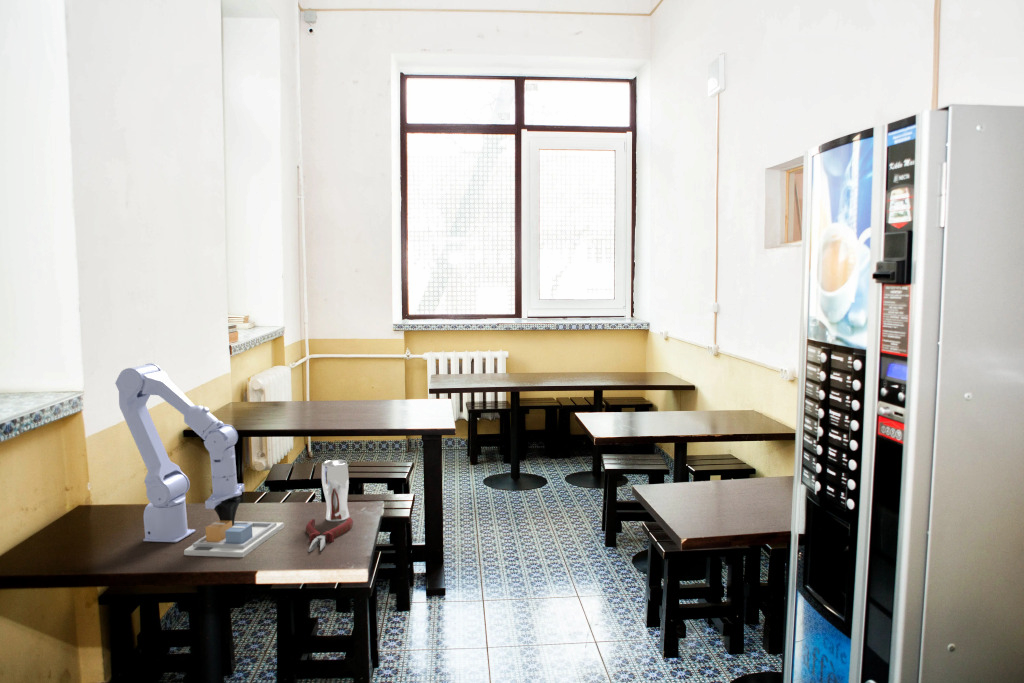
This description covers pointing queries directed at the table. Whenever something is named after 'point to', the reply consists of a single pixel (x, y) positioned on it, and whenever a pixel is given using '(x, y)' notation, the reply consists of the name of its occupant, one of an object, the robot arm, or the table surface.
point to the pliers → (325, 533)
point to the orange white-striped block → (217, 530)
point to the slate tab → (239, 534)
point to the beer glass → (335, 489)
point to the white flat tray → (223, 549)
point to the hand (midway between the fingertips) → (228, 528)
